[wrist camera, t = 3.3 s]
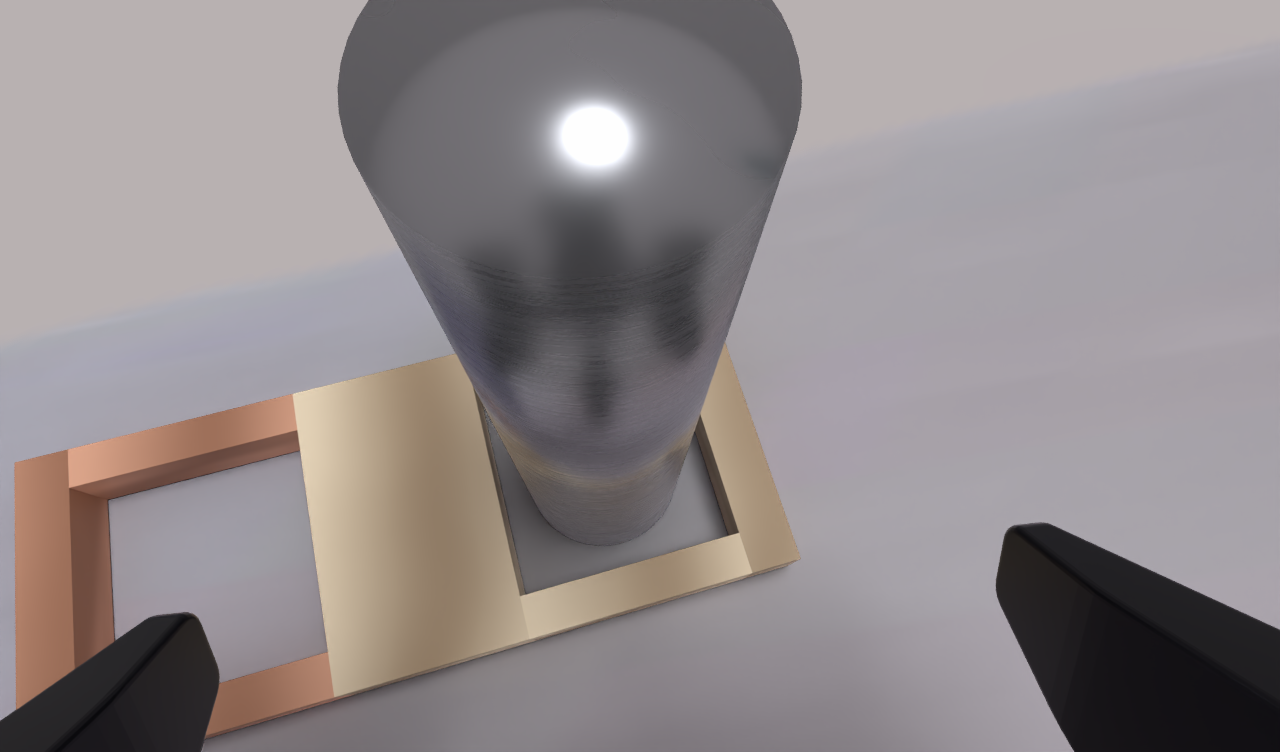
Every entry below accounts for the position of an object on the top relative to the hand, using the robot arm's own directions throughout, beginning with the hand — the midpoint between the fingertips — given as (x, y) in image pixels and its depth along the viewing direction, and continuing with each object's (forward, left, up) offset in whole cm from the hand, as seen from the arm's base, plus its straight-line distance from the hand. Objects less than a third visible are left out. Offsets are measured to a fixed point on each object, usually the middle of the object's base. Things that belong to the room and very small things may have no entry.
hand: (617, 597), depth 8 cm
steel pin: (+4, +2, -11) cm, 12 cm away
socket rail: (0, +6, -11) cm, 13 cm away
